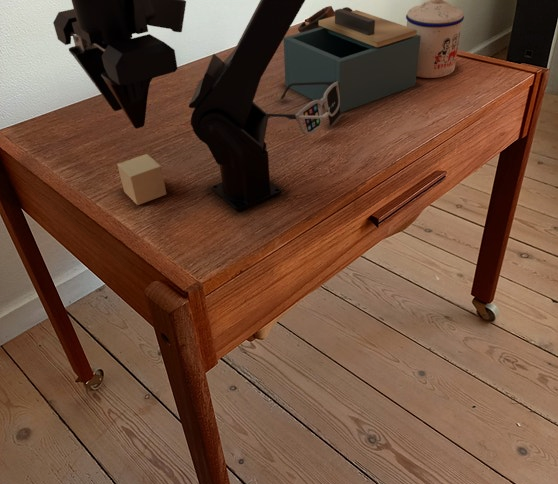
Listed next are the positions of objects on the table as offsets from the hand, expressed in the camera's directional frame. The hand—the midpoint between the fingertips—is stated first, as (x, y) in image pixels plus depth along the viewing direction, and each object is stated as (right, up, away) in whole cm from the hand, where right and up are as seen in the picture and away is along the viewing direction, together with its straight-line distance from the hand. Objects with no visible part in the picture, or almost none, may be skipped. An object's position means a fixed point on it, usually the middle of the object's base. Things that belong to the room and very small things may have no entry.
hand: (128, 118), depth 67 cm
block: (0, -8, +7) cm, 10 cm away
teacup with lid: (+44, +19, +34) cm, 58 cm away
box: (+29, +14, +29) cm, 43 cm away
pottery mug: (+27, +26, +43) cm, 57 cm away
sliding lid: (+31, +21, +25) cm, 45 cm away
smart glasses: (+21, +6, +18) cm, 28 cm away
